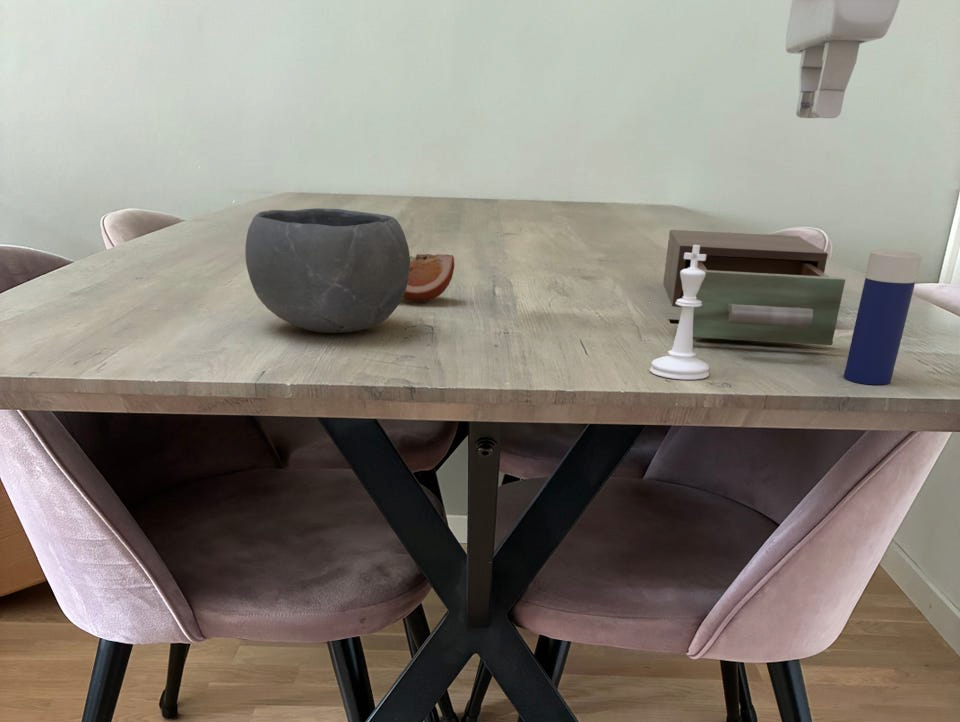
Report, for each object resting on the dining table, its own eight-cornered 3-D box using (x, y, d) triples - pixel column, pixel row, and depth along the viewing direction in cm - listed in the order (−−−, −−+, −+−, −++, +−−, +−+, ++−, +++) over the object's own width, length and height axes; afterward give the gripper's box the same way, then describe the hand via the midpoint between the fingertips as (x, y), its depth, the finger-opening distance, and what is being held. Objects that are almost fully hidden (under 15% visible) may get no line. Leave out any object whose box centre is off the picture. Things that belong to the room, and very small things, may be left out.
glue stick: (884, 375, 82) (914, 251, 77) (896, 386, 79) (928, 257, 74) (838, 372, 83) (865, 248, 78) (848, 383, 79) (877, 255, 74)
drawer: (842, 356, 84) (857, 287, 82) (689, 346, 85) (699, 278, 83) (802, 317, 101) (813, 258, 98) (674, 309, 102) (682, 251, 99)
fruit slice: (372, 303, 103) (371, 254, 101) (384, 293, 109) (384, 246, 107) (448, 308, 102) (449, 258, 100) (457, 297, 108) (458, 250, 106)
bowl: (440, 327, 93) (442, 216, 88) (346, 354, 82) (342, 227, 77) (320, 309, 99) (316, 204, 94) (218, 331, 88) (207, 212, 83)
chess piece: (662, 363, 83) (678, 239, 78) (716, 371, 81) (736, 245, 76) (640, 373, 79) (655, 244, 75) (697, 383, 77) (716, 251, 72)
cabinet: (812, 332, 98) (828, 253, 95) (670, 323, 99) (680, 245, 96) (786, 305, 112) (799, 236, 108) (661, 298, 113) (669, 229, 109)
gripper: (786, -83, 75) (754, 116, 82) (844, -145, 58) (798, 115, 64) (867, -80, 75) (829, 119, 82) (951, -142, 57) (893, 120, 64)
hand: (816, 118), depth 73 cm, fingers open, 5 cm apart
